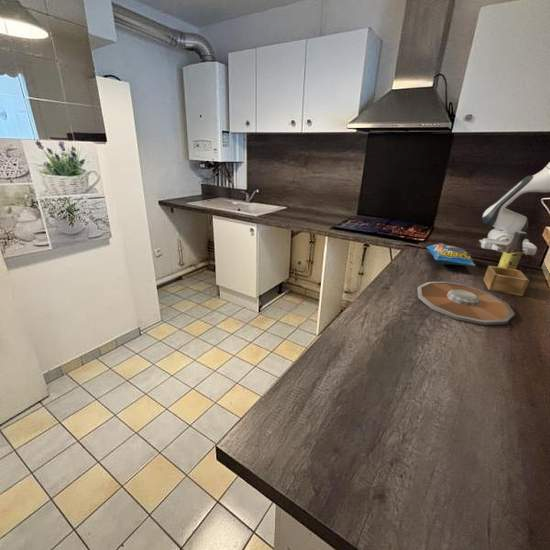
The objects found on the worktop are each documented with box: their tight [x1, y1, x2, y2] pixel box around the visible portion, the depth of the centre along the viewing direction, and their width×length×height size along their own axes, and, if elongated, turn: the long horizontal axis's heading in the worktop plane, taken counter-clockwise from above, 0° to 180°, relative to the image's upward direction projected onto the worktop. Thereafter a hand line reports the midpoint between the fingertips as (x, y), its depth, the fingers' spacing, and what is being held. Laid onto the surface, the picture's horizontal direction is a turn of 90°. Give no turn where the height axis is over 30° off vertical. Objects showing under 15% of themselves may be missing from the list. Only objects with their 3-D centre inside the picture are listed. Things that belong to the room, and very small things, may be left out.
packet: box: [426, 242, 476, 267], centre depth 139 cm, size 17×24×8 cm
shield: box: [416, 281, 516, 327], centre depth 103 cm, size 30×3×30 cm
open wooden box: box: [483, 265, 530, 297], centre depth 116 cm, size 11×11×7 cm
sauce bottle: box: [497, 231, 528, 270], centre depth 125 cm, size 7×6×20 cm
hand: (511, 251), depth 126 cm, fingers open, 8 cm apart
